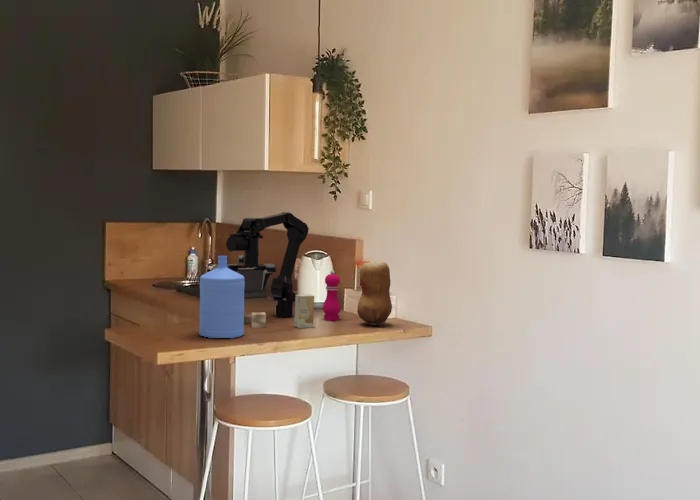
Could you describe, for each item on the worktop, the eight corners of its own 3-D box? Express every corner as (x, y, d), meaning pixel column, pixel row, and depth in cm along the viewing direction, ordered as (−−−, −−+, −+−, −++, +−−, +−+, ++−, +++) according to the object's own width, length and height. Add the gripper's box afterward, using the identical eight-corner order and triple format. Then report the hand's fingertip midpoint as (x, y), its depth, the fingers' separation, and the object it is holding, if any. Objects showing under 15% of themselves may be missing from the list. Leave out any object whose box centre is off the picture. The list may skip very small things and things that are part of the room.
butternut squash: (352, 322, 309) (353, 259, 307) (383, 321, 314) (385, 259, 312) (365, 328, 296) (367, 262, 294) (397, 327, 301) (399, 262, 299)
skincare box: (298, 328, 294) (299, 296, 293) (293, 326, 298) (294, 294, 297) (314, 327, 297) (314, 295, 296) (309, 325, 301) (310, 293, 300)
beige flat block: (252, 321, 308) (252, 314, 308) (253, 324, 301) (253, 317, 301) (234, 321, 307) (234, 314, 307) (235, 324, 300) (235, 317, 300)
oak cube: (264, 325, 299) (264, 312, 299) (265, 327, 294) (265, 314, 294) (251, 325, 298) (251, 312, 298) (252, 327, 293) (252, 314, 293)
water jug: (251, 337, 275) (252, 257, 272) (209, 340, 266) (210, 258, 264) (232, 329, 288) (233, 253, 285) (192, 333, 279) (192, 254, 277)
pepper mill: (344, 319, 315) (345, 270, 314) (331, 321, 310) (332, 271, 308) (331, 317, 320) (332, 268, 319) (318, 319, 315) (319, 269, 313)
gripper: (271, 248, 315) (271, 287, 317) (224, 248, 310) (224, 287, 312) (276, 250, 305) (276, 290, 306) (228, 251, 300) (227, 291, 301)
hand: (251, 290), depth 306 cm, fingers open, 9 cm apart
